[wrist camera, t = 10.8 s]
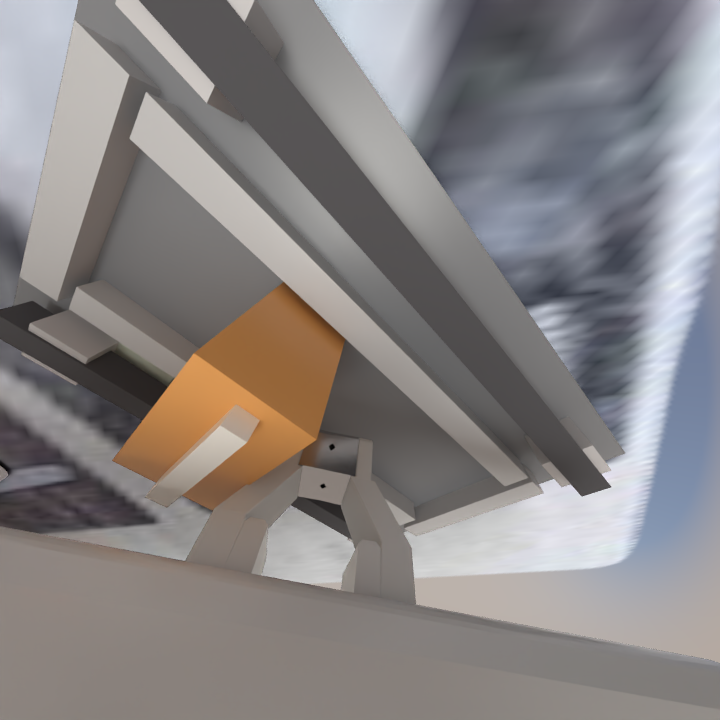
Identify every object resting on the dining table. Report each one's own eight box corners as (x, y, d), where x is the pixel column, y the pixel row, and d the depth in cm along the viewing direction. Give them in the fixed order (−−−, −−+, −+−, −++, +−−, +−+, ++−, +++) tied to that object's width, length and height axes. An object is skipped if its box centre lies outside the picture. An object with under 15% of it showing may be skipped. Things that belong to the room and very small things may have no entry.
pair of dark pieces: (384, 537, 18) (384, 558, 17) (27, 320, 10) (-11, 332, 9) (592, 463, 12) (611, 487, 11) (139, -111, 5) (74, -193, 4)
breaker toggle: (272, 401, 12) (199, 531, 7) (216, 361, 11) (89, 481, 6) (345, 338, 10) (309, 463, 5) (284, 281, 9) (170, 371, 4)
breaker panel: (379, 513, 21) (378, 566, 18) (59, 304, 13) (-42, 336, 10) (596, 422, 14) (654, 484, 11) (203, -134, 6) (22, -465, 3)
